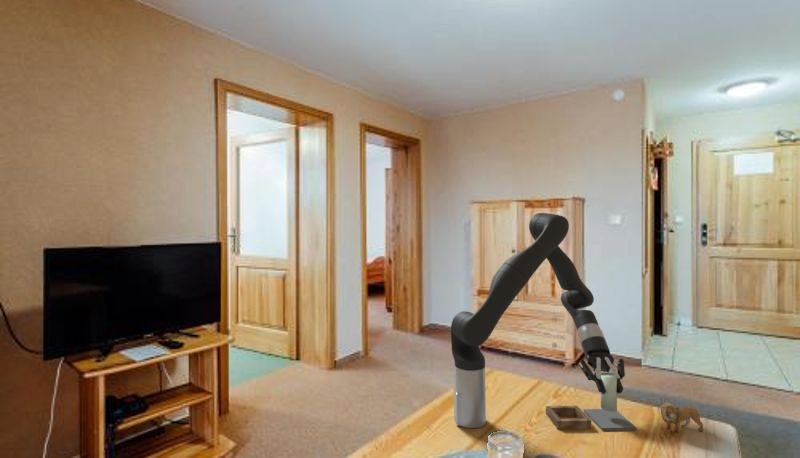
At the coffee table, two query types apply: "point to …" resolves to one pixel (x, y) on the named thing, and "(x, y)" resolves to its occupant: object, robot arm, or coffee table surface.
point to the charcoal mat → (609, 420)
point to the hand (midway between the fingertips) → (612, 392)
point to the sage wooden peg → (609, 392)
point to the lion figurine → (679, 416)
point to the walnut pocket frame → (562, 424)
